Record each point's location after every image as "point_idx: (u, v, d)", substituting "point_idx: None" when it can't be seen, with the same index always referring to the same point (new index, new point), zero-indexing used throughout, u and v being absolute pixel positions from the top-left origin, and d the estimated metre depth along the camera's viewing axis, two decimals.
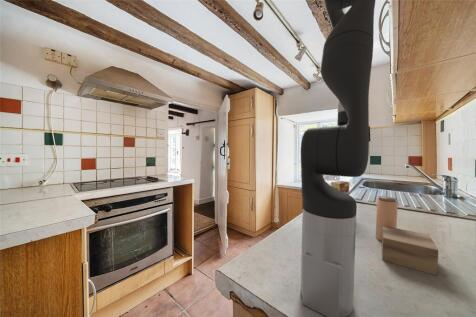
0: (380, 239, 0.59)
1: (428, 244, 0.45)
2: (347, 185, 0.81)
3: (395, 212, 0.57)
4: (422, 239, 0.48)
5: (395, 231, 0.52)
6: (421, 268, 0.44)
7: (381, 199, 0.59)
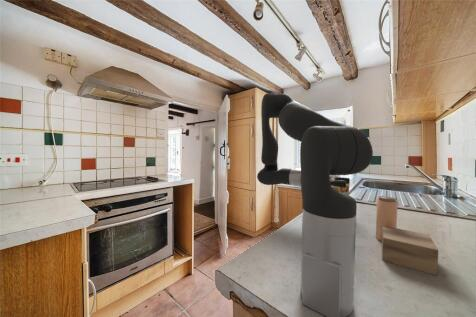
0: (380, 239, 0.59)
1: (428, 244, 0.45)
2: (347, 185, 0.81)
3: (395, 212, 0.57)
4: (422, 239, 0.48)
5: (395, 231, 0.52)
6: (421, 268, 0.44)
7: (381, 199, 0.59)
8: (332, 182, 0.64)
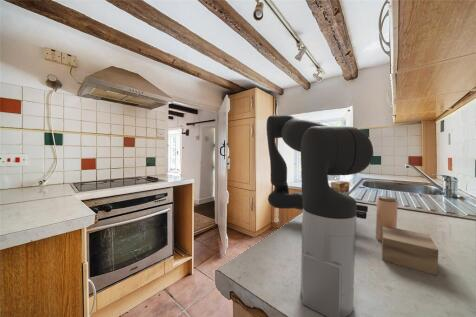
0: (380, 239, 0.59)
1: (428, 244, 0.45)
2: (347, 185, 0.81)
3: (395, 212, 0.57)
4: (422, 239, 0.48)
5: (395, 231, 0.52)
6: (421, 268, 0.44)
7: (381, 199, 0.59)
8: None
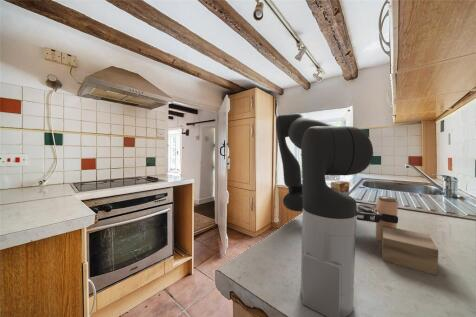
0: (380, 239, 0.59)
1: (428, 244, 0.45)
2: (347, 185, 0.81)
3: (395, 212, 0.57)
4: (422, 239, 0.48)
5: (395, 231, 0.52)
6: (421, 268, 0.44)
7: (381, 199, 0.59)
8: (381, 217, 0.57)
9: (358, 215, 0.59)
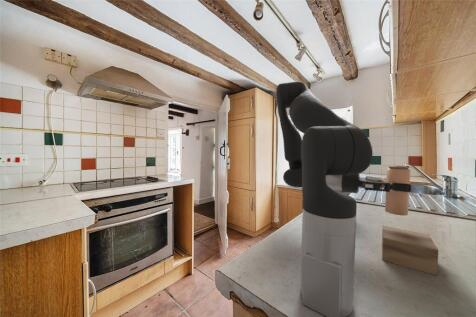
0: (390, 211, 0.53)
1: (428, 244, 0.45)
2: None
3: (407, 180, 0.51)
4: (422, 239, 0.48)
5: (395, 231, 0.52)
6: (421, 268, 0.44)
7: (392, 167, 0.53)
8: (392, 185, 0.51)
9: (366, 185, 0.53)
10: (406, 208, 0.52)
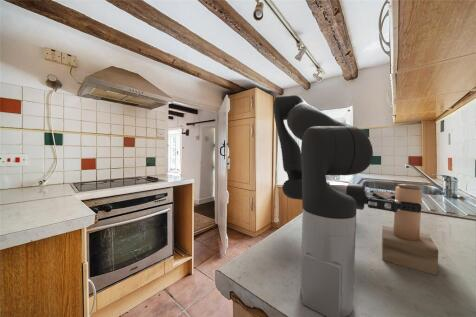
0: (400, 235, 0.48)
1: (428, 244, 0.45)
2: None
3: (419, 202, 0.47)
4: (422, 239, 0.48)
5: None
6: (421, 268, 0.44)
7: (401, 186, 0.49)
8: (399, 205, 0.46)
9: (369, 202, 0.49)
10: (417, 232, 0.47)
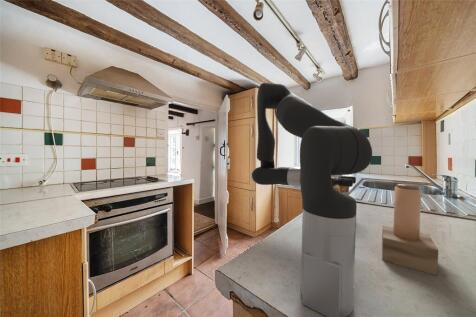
0: (400, 235, 0.48)
1: (428, 244, 0.45)
2: None
3: (418, 202, 0.47)
4: (422, 239, 0.48)
5: None
6: (421, 268, 0.44)
7: (400, 186, 0.49)
8: (336, 181, 0.56)
9: None
10: (417, 232, 0.47)
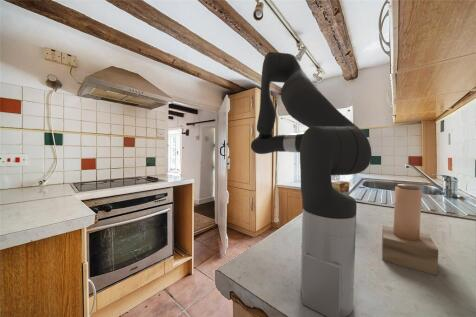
0: (400, 235, 0.48)
1: (428, 244, 0.45)
2: (347, 185, 0.81)
3: (419, 202, 0.46)
4: (422, 239, 0.48)
5: None
6: (421, 268, 0.44)
7: (401, 187, 0.48)
8: None
9: None
10: (417, 232, 0.47)
